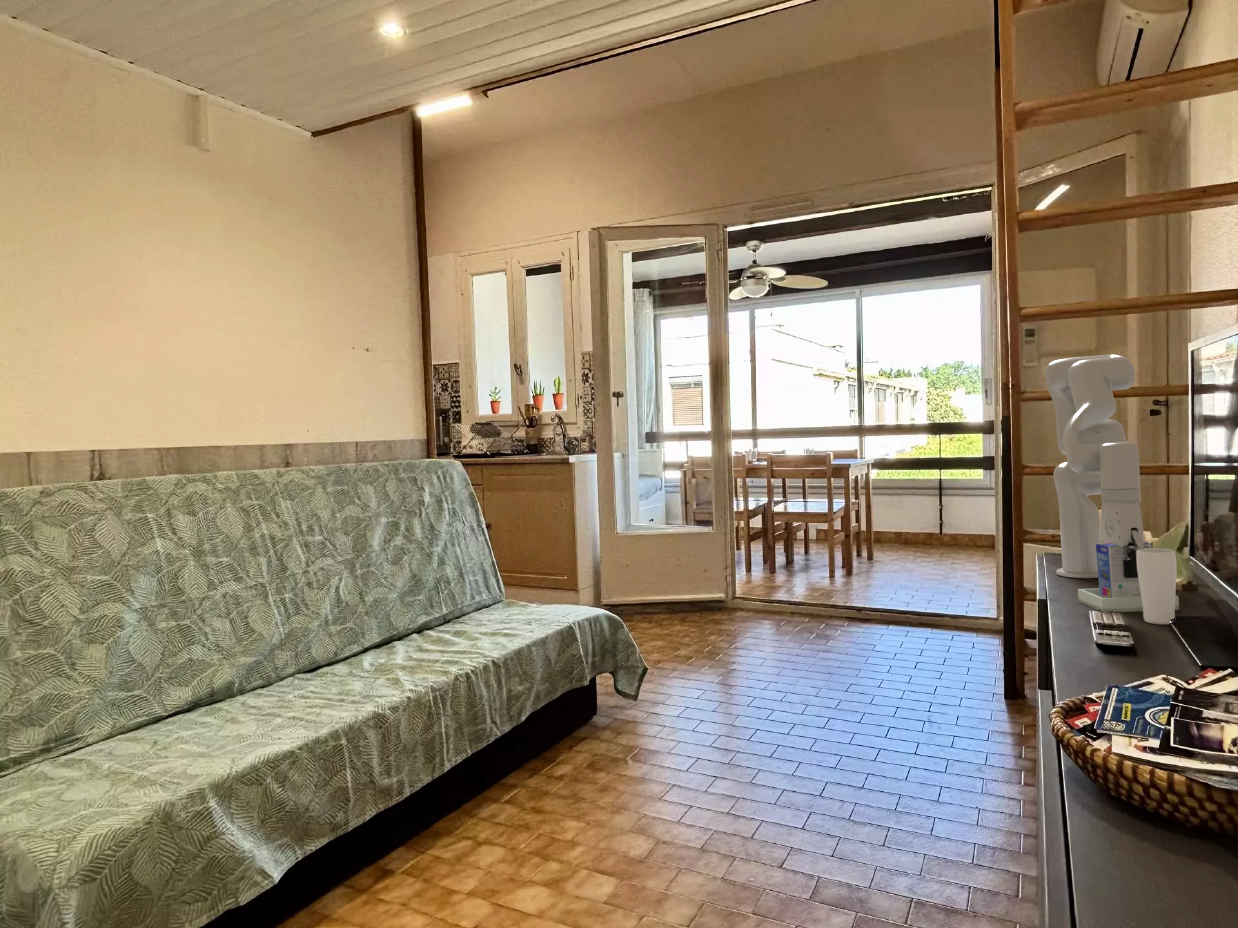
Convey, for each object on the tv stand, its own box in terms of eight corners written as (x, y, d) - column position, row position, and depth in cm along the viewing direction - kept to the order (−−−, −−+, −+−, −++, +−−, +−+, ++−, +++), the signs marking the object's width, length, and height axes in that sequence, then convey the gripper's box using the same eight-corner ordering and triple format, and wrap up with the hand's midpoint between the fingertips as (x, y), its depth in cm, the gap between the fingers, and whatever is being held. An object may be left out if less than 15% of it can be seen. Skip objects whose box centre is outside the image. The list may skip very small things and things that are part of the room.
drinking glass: (1167, 627, 154) (1163, 553, 154) (1132, 621, 160) (1128, 550, 160) (1186, 622, 157) (1183, 549, 157) (1152, 616, 163) (1148, 547, 163)
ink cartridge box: (1140, 592, 177) (1137, 530, 177) (1156, 597, 172) (1153, 533, 171) (1096, 595, 177) (1093, 532, 177) (1111, 600, 172) (1108, 536, 171)
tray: (1078, 601, 181) (1077, 589, 181) (1149, 599, 179) (1149, 586, 179) (1102, 612, 170) (1101, 598, 170) (1179, 609, 168) (1178, 596, 168)
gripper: (1085, 494, 183) (1089, 569, 183) (1122, 500, 166) (1126, 582, 166) (1119, 492, 182) (1123, 568, 182) (1160, 498, 165) (1164, 581, 165)
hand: (1124, 574), depth 174 cm, fingers closed on ink cartridge box, 5 cm apart
